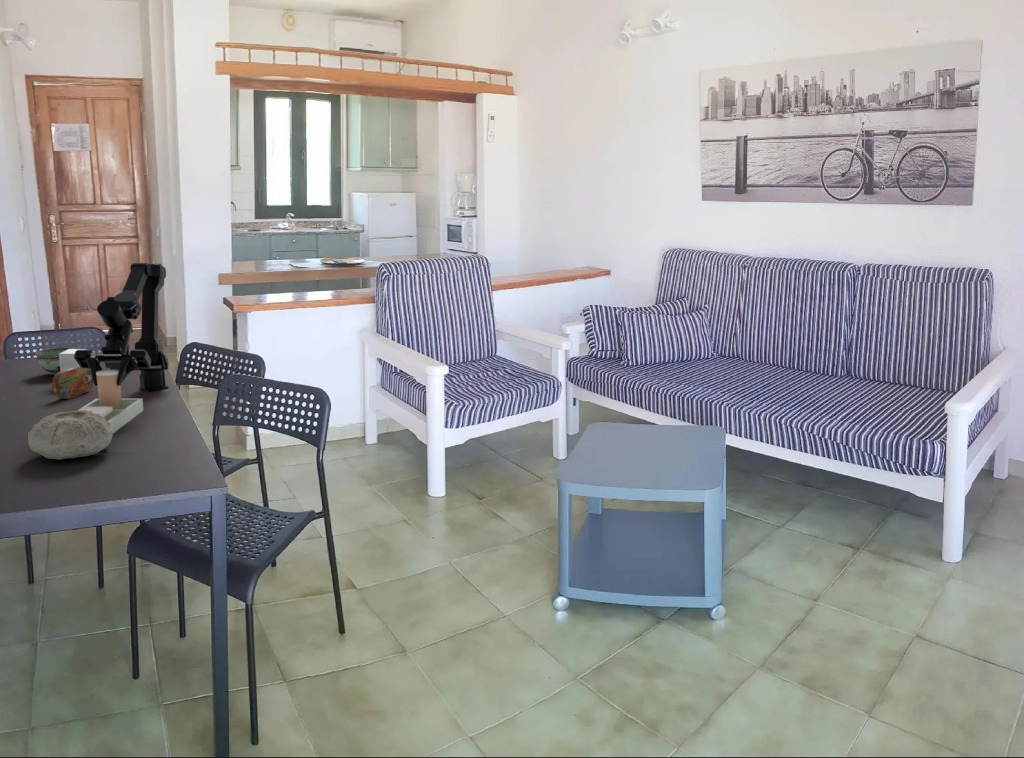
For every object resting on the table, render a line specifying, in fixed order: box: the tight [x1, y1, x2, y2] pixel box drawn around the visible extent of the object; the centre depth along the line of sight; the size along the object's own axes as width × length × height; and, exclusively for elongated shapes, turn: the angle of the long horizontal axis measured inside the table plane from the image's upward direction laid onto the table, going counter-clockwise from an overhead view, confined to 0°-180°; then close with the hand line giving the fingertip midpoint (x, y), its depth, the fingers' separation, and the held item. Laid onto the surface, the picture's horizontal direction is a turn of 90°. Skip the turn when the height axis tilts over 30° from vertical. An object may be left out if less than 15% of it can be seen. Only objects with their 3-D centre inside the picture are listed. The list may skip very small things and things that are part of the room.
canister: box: [96, 368, 123, 410], centre depth 229 cm, size 6×6×10 cm
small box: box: [59, 348, 88, 371], centre depth 268 cm, size 8×6×10 cm
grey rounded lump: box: [27, 409, 114, 461], centre depth 199 cm, size 18×18×10 cm
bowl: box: [34, 347, 80, 376], centre depth 280 cm, size 14×13×8 cm
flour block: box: [79, 406, 113, 421], centre depth 218 cm, size 7×7×5 cm
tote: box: [78, 398, 144, 434], centre depth 224 cm, size 24×13×4 cm, turn 5°
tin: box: [51, 366, 94, 400], centre depth 253 cm, size 15×3×8 cm, turn 168°
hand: (106, 385), depth 227 cm, fingers closed on canister, 6 cm apart
